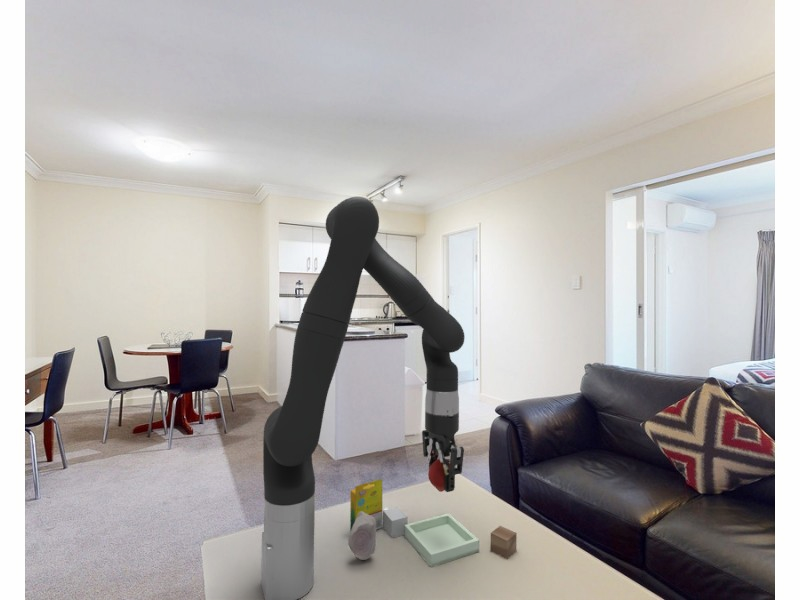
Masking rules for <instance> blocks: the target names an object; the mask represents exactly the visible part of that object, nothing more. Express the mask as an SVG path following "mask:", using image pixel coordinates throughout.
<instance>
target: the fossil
mask: <svg viewBox="0 0 800 600" xmlns="http://www.w3.org/2000/svg"><path fill="white" fill-rule="evenodd" d="M347 545H348V548H349V550H350V552H351V553H352V554H353V555H354V556H355V557H356V558H357V559H359V560H363V561H364V560H365V561H366V560H368V559H370V558H371V556H372V555H374V554H375V551H376V548H377V529H376V520H375V518H374V517H371V516H369V515H368V514H365V513H364V512H362V511H361V512H359V514H358V515H357V518H356V520H355V523H354V524H353V527H352V529H351V531H350V533H349V535H348V543H347Z"/></svg>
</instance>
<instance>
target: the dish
mask: <svg viewBox="0 0 800 600" xmlns="http://www.w3.org/2000/svg"><path fill="white" fill-rule="evenodd" d="M403 536H404V537H405V539H407V540H408V542H409V543H410V545H412V547H413V548H414V549H415V550H416V552H418V554H419V555H420V556H421V557H422V559H424V560H425V562H426V563H427V564H428V565H429V567H431V568H433V567H437V566H439V565H442V564H446V563H449V562H451V561H454V560H457V559H461V558H463V557H466V556H470V555H473V554H476V553H480V539H479V538H478V537H476V536H475V535H474V534H473V533H472V532H471V531H470V530H469V529H467V528H466V527H465V526H464V525H463V524H462V523H460V521H458V519H456V518H454V517H453V515H451V513H445V514H441V515H438V516H436V515H435V516H433V517H429V518H426V519H421V520H417V521H414V522H411V523H407V524H406V525H405V532H404V535H403Z"/></svg>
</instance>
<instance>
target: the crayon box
mask: <svg viewBox="0 0 800 600" xmlns="http://www.w3.org/2000/svg"><path fill="white" fill-rule="evenodd" d="M354 487H355V488H354V489H350V509H349V510H350V511H349V512H350V522H349V523H350V527H349V528H350V532H351V529H352V527H353V524H354V523H355V520H356V518H357V515H358V514H359V512H361V511H362V512H364V513H365V514H368V515H369V516H371V517H374V518H375V520H376V530H378V529H383V479H382V478H379V479H375V480H372V481H368V482H365V483H362V484H359V485H355V486H354Z"/></svg>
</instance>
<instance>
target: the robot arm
mask: <svg viewBox="0 0 800 600" xmlns="http://www.w3.org/2000/svg"><path fill="white" fill-rule="evenodd" d="M379 227H380V216H379V212H378V210H377V208H376V206H375V204H374V203H373V202H372V201H371V200H370V199H368V198H366V197H364V196H352V197H351V196H350V197H348V198H346V199H344V200H342V201H341V202H339V203H338V204H337V205H336V206H334V207H333V208H332V209H331V210H330V211H329V212H328V214H327V216H326V219H325V231H326V233H327V235H328V237H329V239H330V243H329V248H328V252H327V255H326V259H325V261H324V264H323V266H322V269H321V271H320V272H319V274H318V275H317V278H316V280H315V281H314V283H313V286H312V287H311V289H310V292H309V293H308V295H307V298H306V300H305V303H304V306H303V309H302V312H301V314H300V317H299V322H298V325H297V328H296V331H295V337H294V342H293V349H292V358H291V359H292V360H291V369H290V377H289V378H290V379H289V384H288V388H287V392H286V394H285V398H284V400H283V403H282V405H281V406H279V407H277V408H276V409H274V410H273V411H272V412H271V413H270V415H269V416H268V417H267V419H266V421H265V423H264V427H263V437H262V438H263V442H262V443H263V446H262V448H263V453H262V454H263V462H262V464H263V465H262V466H263V468H262V469H263V473H262V474H263V487H264V490H263V491H264V492H263V494H264V496H263V497H264V498H263V531H262V532H261V559H260V560H261V566H260V567H261V569H260V576H261V577H260V583H261V588H262V593H263V597H264V600H298V599H301V598H303V597H304V596H306V595H307V594H308V592H310V591H311V589H312V587H314V578H315V516H316V515H315V510H316V509H315V507H316V506H315V505H316V503H315V502H316V478H315V477H316V476H315V473H314V464H313V454H314V452H315V451H316V449H317V447H318V444H319V442H320V436H321V430H322V424H323V420H324V413H325V407H326V402H327V397H328V394H329V391H330V386H331V384H332V381H333V377H334V376H335V375H334V374H335V371H336V368H337V365H338V363H339V359H340V355H341V351H342V348H343V346H344V343H345V339H346V336H347V332H348V328H349V324H350V321H351V317H352V313H353V308H354V305H355V302H356V298H357V293H358V291H359V290H358V289H359V285H360V280H361V278H362V274H363V270H365V272H366V273H368V274H369V275H370V277H371V278H373V280H374V281H375V282H376V283H377V284H378V285H379V286H380V287H381V288H382V290H383V291H385V293H386V294H387V295H388V296H389V297H390V298H391V300H392V301H393V302H394V303H395V305H396V306H397V307H398V309H399V311H401V313H403V314H404V315H405V316H406V318H407V319H408V320H409V321H410V322H412V323H413V324H415V325H417V326H419V327H421V329H422V332H421V333H422V334H421V347H422V352H423V358H424V361H425V362H424V363H425V367H426V390H425V391H426V393H425V400H424V402H425V403H424V409H425V410H424V429H423V430H422V431H421V437H422V440H421V441H422V455H423V457H426V461H427V463H428V469H429V468H430V466H431V465H432V463H433V462H434V461H436V460H437V459H438V458H440V462H441V464H443V467H444V472H445V474H444V492H446V493H450V492H453V491H454V490H455V488H456V485H455V482H456V476H457V475H461V474H462V473H463V463H464V456H465V455H464V454H465V453H464V451H465V449H464V447H463V446H458V445H457V444H456V440H455V435H456V433H458V431H459V429H460V395H459V369H458V366H457V364H456V363H454V362H453V361H452V359H451V354H450V353H455V352H458V351H459V350H461V348H462V347H463V346H464V343H465V331H464V328H463V327H462V325H461V323H459V321H458V320H457V319H456V318H455V317H454V316H453V315H452V314H451V313H450V312H449V311H447V310H446V309H445V308H444V307H443V306H442V305H441V304H439V303H438V302H437V301H436V300H435V299H434V298H433V296H432V295H431V294H430V292H429V291H428V289H426V288H425V286H424V285H423V284H422V283H421V282H420V280H419V279H418V278H417V277H416V276H415V275H414V274H413V273H412V272H410V271H409V270H408V269H407V268H406V267H405V266H403V265H402V264H401V263H399V262H398V261H397V260H396V259H395V258H394V257H392V256H391V255H390V254H389V253H388V252H387V251H386V250H385V249H384V248H383V247H382V245H381V244H380V243H379V242H378V240H377V238H376V237H377V234H378V232H379ZM447 457H449V458H447ZM448 462H449V463H450V467H449V469H448Z"/></svg>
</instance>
